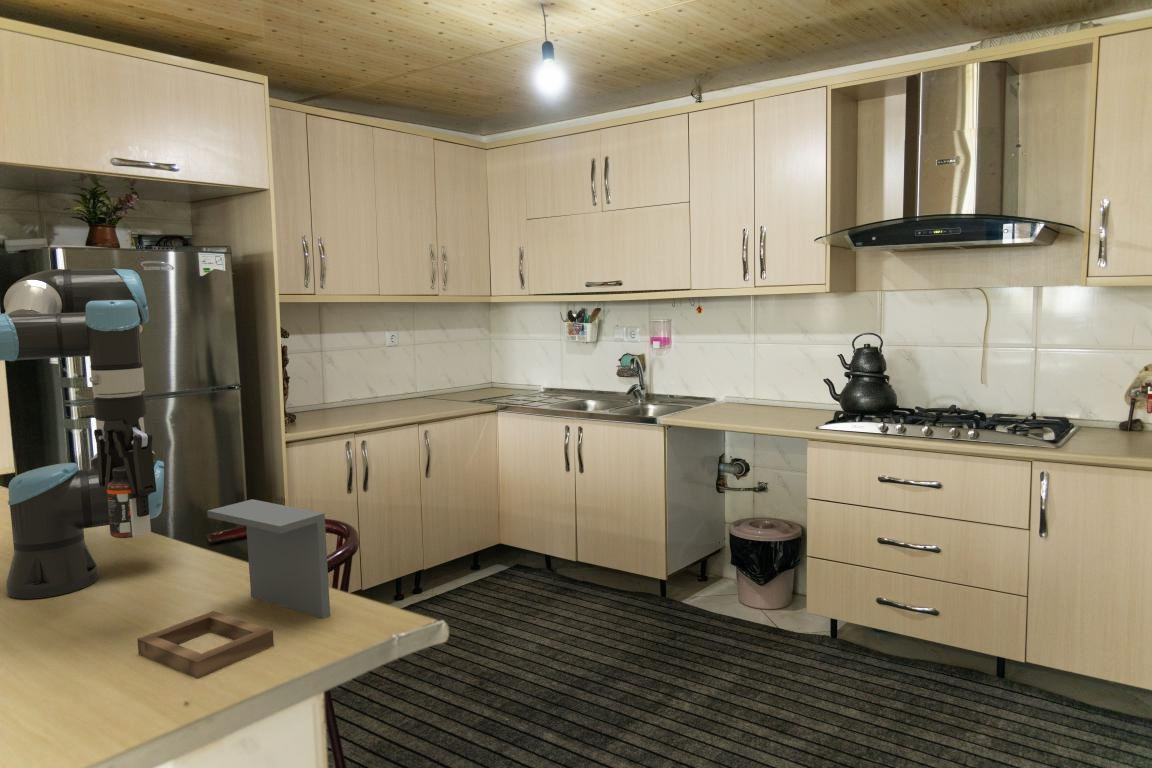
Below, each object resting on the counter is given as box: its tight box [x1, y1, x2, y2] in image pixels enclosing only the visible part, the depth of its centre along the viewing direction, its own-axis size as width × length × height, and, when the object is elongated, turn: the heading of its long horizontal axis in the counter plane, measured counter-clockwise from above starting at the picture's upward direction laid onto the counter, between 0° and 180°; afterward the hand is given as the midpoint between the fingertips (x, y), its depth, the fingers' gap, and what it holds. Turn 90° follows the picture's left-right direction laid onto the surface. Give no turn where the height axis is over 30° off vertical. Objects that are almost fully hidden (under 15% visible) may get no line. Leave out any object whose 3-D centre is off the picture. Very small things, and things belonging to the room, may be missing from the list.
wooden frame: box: [136, 610, 275, 679], centre depth 129 cm, size 16×13×2 cm
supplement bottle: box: [107, 466, 149, 539], centre depth 136 cm, size 6×6×11 cm
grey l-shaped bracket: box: [206, 498, 331, 619], centre depth 143 cm, size 20×9×18 cm, turn 57°
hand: (130, 531), depth 137 cm, fingers closed on supplement bottle, 6 cm apart
